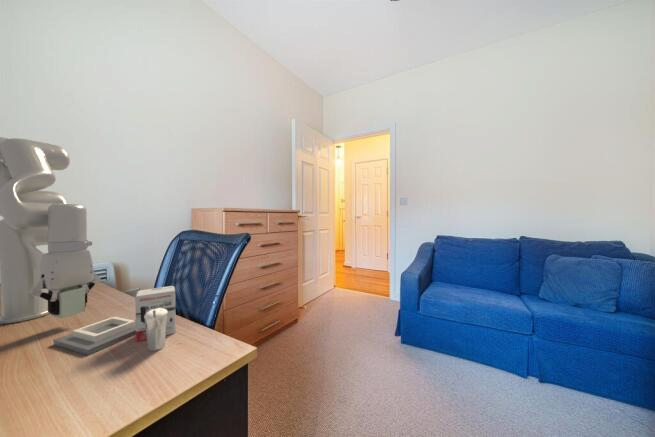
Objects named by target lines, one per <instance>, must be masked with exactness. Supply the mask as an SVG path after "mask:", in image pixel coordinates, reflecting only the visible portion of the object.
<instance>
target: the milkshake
mask: <svg viewBox="0 0 655 437" xmlns="http://www.w3.org/2000/svg"><path fill="white" fill-rule="evenodd" d="M167 315H168V311H167V310H166V309H164V308H157V309H154V310H150V311H148V312H147V313H146V314H145V316H144V318H145V325H146V333H147V340H146V341H147V349H148V351H149V352H157V351H159V350H162V349H163V348H165V346H166V336H167V335H166V324H167Z"/></svg>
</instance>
